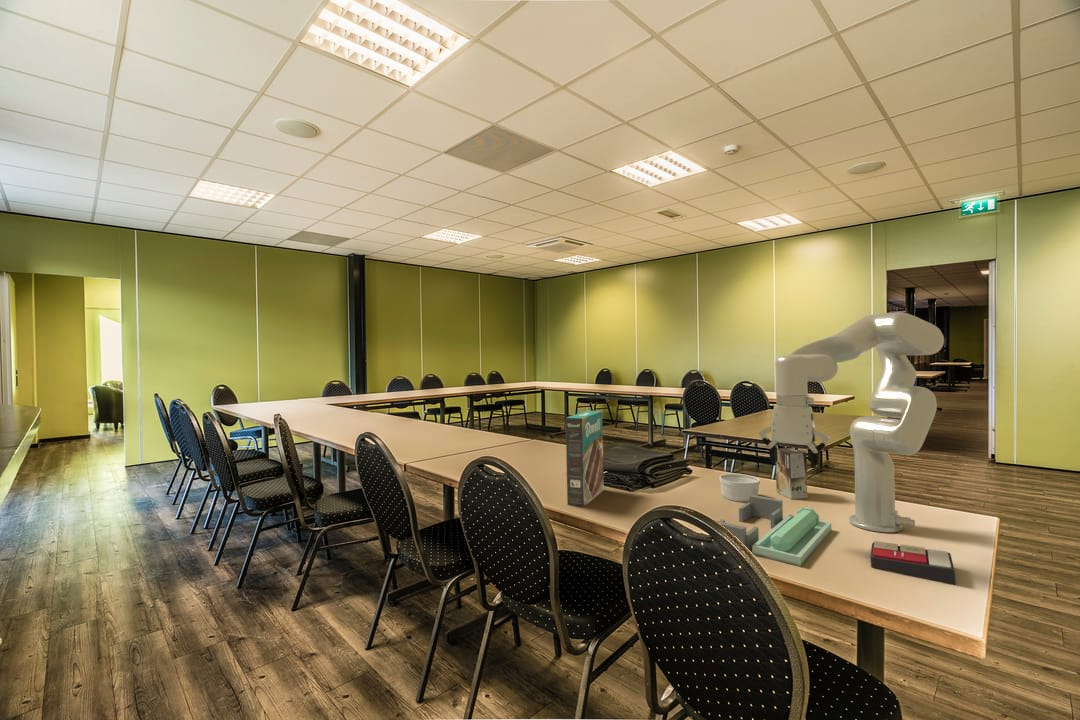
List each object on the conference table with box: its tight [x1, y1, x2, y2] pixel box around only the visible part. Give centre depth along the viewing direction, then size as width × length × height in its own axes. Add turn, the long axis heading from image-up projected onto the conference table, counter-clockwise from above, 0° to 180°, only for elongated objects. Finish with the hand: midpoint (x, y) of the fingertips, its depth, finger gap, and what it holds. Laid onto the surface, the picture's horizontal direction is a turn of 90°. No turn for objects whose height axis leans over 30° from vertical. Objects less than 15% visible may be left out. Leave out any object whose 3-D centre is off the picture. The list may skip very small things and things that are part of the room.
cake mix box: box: [565, 410, 605, 508], centre depth 172 cm, size 22×6×30 cm, turn 155°
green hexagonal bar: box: [771, 507, 820, 552], centre depth 128 cm, size 6×6×25 cm
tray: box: [751, 514, 832, 568], centre depth 128 cm, size 11×31×2 cm, turn 137°
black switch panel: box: [869, 540, 956, 586], centre depth 111 cm, size 11×4×15 cm
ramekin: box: [719, 473, 761, 503], centre depth 168 cm, size 13×13×7 cm
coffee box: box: [775, 447, 808, 500], centre depth 169 cm, size 9×6×16 cm
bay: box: [715, 495, 784, 551], centre depth 136 cm, size 10×32×6 cm, turn 137°
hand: (793, 464), depth 128 cm, fingers open, 9 cm apart
